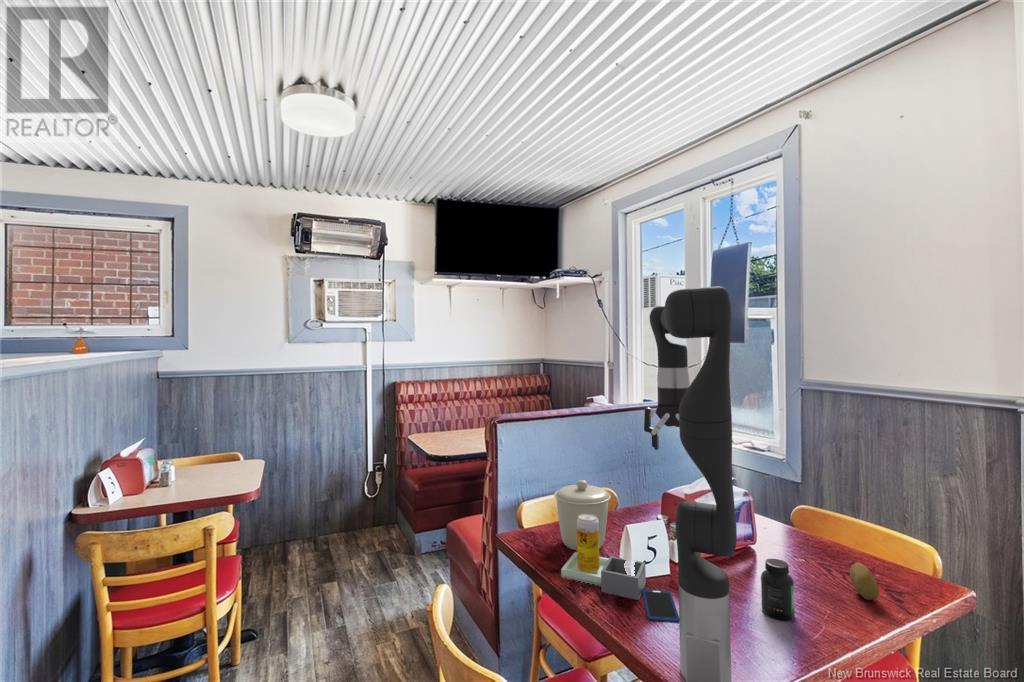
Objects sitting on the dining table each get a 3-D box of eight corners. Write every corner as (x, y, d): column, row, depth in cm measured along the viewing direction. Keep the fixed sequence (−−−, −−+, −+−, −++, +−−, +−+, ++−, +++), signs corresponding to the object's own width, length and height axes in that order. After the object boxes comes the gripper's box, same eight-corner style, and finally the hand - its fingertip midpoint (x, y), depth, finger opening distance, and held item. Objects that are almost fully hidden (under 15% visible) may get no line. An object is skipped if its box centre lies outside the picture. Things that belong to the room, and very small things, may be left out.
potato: (875, 608, 114) (875, 575, 114) (840, 594, 120) (840, 563, 120) (889, 600, 117) (888, 567, 117) (854, 587, 124) (853, 556, 124)
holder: (638, 600, 119) (638, 578, 119) (601, 592, 123) (601, 570, 123) (645, 582, 128) (645, 562, 128) (610, 575, 132) (610, 556, 132)
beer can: (574, 572, 133) (573, 518, 133) (582, 563, 138) (581, 512, 138) (595, 576, 130) (594, 522, 130) (602, 567, 135) (601, 515, 135)
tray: (603, 586, 126) (603, 577, 126) (561, 577, 131) (561, 569, 131) (614, 567, 137) (614, 559, 137) (575, 560, 142) (575, 552, 142)
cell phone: (670, 593, 123) (670, 590, 123) (680, 624, 109) (680, 621, 109) (641, 591, 124) (641, 588, 124) (647, 622, 110) (647, 618, 110)
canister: (546, 538, 158) (545, 475, 159) (595, 531, 164) (594, 470, 164) (569, 561, 141) (567, 491, 141) (622, 553, 146) (621, 485, 147)
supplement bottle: (801, 619, 110) (800, 567, 110) (776, 623, 108) (775, 571, 108) (779, 604, 116) (778, 555, 116) (755, 607, 115) (754, 558, 115)
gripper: (641, 386, 117) (642, 451, 117) (702, 387, 111) (704, 456, 111) (646, 383, 124) (647, 445, 124) (705, 384, 118) (706, 450, 117)
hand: (674, 450), depth 117 cm, fingers open, 8 cm apart
